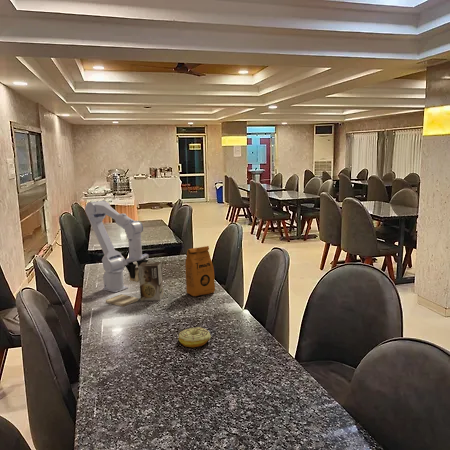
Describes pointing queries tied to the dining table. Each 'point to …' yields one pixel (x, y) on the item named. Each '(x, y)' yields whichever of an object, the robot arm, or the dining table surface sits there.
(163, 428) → the dining table surface
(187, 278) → the coffee package
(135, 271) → the letter block
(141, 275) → the coffee box
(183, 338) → the decorated donut
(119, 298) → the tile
